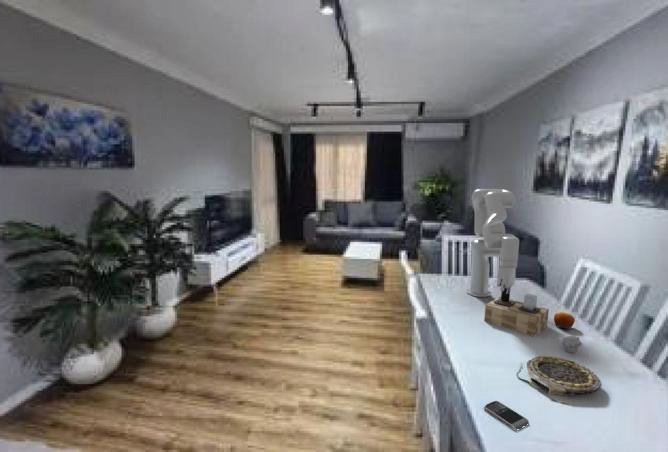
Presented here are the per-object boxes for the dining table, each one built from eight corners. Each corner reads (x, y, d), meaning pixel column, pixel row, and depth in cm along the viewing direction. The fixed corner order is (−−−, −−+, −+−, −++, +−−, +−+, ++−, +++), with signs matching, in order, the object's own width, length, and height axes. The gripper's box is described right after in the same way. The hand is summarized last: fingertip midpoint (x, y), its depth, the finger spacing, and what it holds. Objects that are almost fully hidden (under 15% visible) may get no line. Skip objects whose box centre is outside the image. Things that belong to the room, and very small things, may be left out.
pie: (526, 354, 143) (528, 342, 142) (614, 381, 126) (616, 367, 125) (507, 386, 121) (509, 372, 120) (610, 423, 104) (612, 407, 103)
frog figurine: (572, 357, 140) (574, 340, 138) (556, 348, 146) (558, 332, 145) (584, 355, 141) (586, 338, 140) (568, 347, 148) (570, 330, 147)
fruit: (554, 326, 164) (555, 309, 166) (552, 329, 170) (553, 312, 173) (575, 330, 160) (576, 312, 163) (573, 333, 166) (573, 316, 169)
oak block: (498, 312, 184) (499, 295, 182) (546, 325, 168) (548, 307, 167) (484, 320, 173) (485, 302, 172) (534, 336, 157) (536, 316, 156)
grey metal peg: (525, 312, 168) (527, 293, 167) (535, 314, 166) (537, 295, 164) (522, 314, 166) (524, 295, 164) (532, 316, 163) (534, 297, 161)
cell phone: (495, 403, 112) (495, 399, 112) (529, 425, 102) (530, 420, 102) (481, 409, 109) (482, 405, 109) (516, 433, 99) (516, 428, 99)
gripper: (506, 259, 178) (503, 295, 180) (493, 264, 168) (490, 302, 170) (522, 262, 172) (519, 299, 175) (510, 267, 162) (506, 307, 165)
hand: (505, 301), depth 173 cm, fingers closed
